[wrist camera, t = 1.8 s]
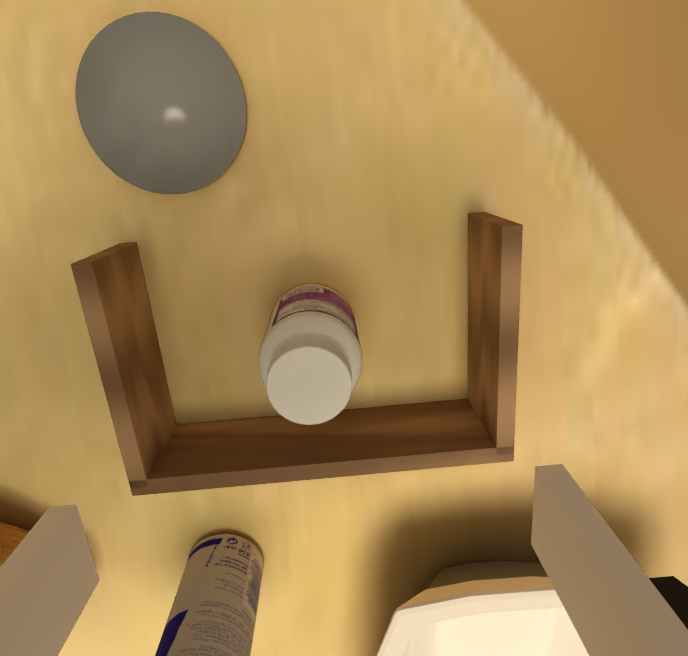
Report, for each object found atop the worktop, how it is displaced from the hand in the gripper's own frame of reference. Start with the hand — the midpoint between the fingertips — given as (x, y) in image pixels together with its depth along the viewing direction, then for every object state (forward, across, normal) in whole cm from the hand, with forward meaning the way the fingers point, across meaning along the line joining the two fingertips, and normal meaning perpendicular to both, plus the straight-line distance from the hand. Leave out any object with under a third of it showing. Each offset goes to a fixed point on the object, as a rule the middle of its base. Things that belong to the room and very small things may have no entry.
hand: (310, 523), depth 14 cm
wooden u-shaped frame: (+18, 0, 0) cm, 18 cm away
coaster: (+18, -7, +13) cm, 24 cm away
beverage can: (+18, -9, -18) cm, 27 cm away
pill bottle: (+19, 0, 0) cm, 19 cm away
